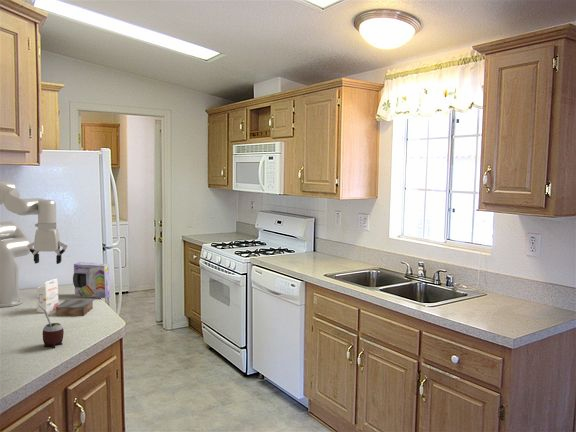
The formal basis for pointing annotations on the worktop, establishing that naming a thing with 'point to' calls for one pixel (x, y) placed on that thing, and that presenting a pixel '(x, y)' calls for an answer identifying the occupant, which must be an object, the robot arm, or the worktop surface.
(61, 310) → the display podium
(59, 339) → the mate gourd
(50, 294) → the ink cartridge box
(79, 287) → the cake pan box
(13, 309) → the worktop surface
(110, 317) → the worktop surface
